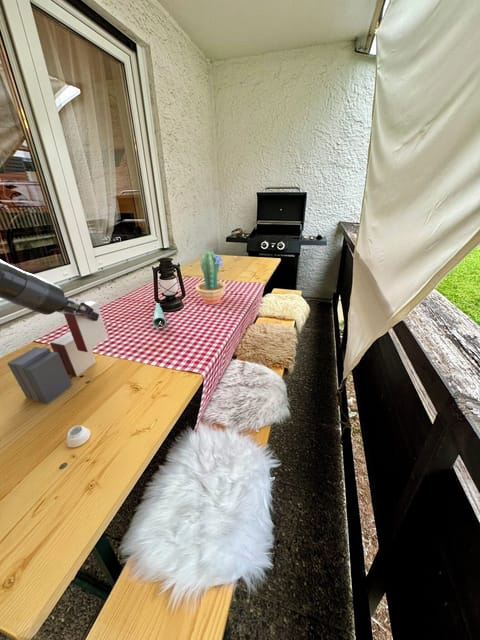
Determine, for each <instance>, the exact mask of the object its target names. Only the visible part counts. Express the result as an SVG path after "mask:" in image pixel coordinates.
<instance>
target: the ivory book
mask: <svg viewBox="0 0 480 640" xmlns="http://www.w3.org/2000/svg"><path fill="white" fill-rule="evenodd" d="M84 303H85V304H86V305H88V306H89V307H91V308H93V309H94V310H93V312H95V313H98V314H99V317H98V320H97V321H93V320H91V319H88V318H84V317H82V316H74V315H71V314H67V313H65V314H63V315H64V318H65V321H66V323H67V326H68V329H69V332H70V331H71V334H72V336H73V339H74V341H75V344H76V347H77V349H78V350H79V351H83V352H88V351H89V350H91V349H92V350H93V349H94V348H96V347H97V346H99V345H100V344H102V343H103V342H104V341H106V340H107V339H108V338H109V334H108V331H107V328H106V325H105V322H104V319H103V315H102V312H101V309H100V306H99V305H100V304H99V302H98V301H92V300H87V301H85V302H84ZM75 312H76V311H75ZM75 312H74V313H75Z"/></svg>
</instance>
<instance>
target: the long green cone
mask: <svg viewBox="0 0 480 640" xmlns="http://www.w3.org/2000/svg"><path fill="white" fill-rule="evenodd" d="M160 306H161V304H160V302H159V303H157V302H156V303H155V307H154V312H153V316H152V326H153V327H154V328H155V329H156V330H157V329H158V328H159V326H158V325H159V322H160V321H161V324H162V328H163V327H164V328H165V327H166V326H167V320H166V317H165V314H164V311H163V309H162V307H160ZM158 330H159V329H158Z"/></svg>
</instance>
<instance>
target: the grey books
mask: <svg viewBox="0 0 480 640" xmlns="http://www.w3.org/2000/svg"><path fill="white" fill-rule="evenodd" d="M7 366H8V367H9V369H10V371H11V373H12V375H13V376H14V378H15V380H16V382H17V384H18V385H19V387H20V390H21V391H22V393H23V394H24V396H25V399H29V400H33V401H36V402H39V403H43V404H46V405H49V404H50V403H51V402H53V401H54V400H55V399H56V398H58V397H60V395H62V394H63V393H65V391H67V390H68V389H69V388H71V387H72V386H73V384H72V381H71V379H70V377H69V376H70V375H68V374H67V372H66V369H65V367H64V365H63V362H62V360H61V358H60V355H59V353H56V352H54V351H51V348H50V347H45V346H42V347H39V346H35V347H33V348H31V349H29V350H27V351H26V352H24V353H22V354H20V355H19V356H17V357H15V358H13V359H11V360H9V361H8V362H7Z"/></svg>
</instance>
